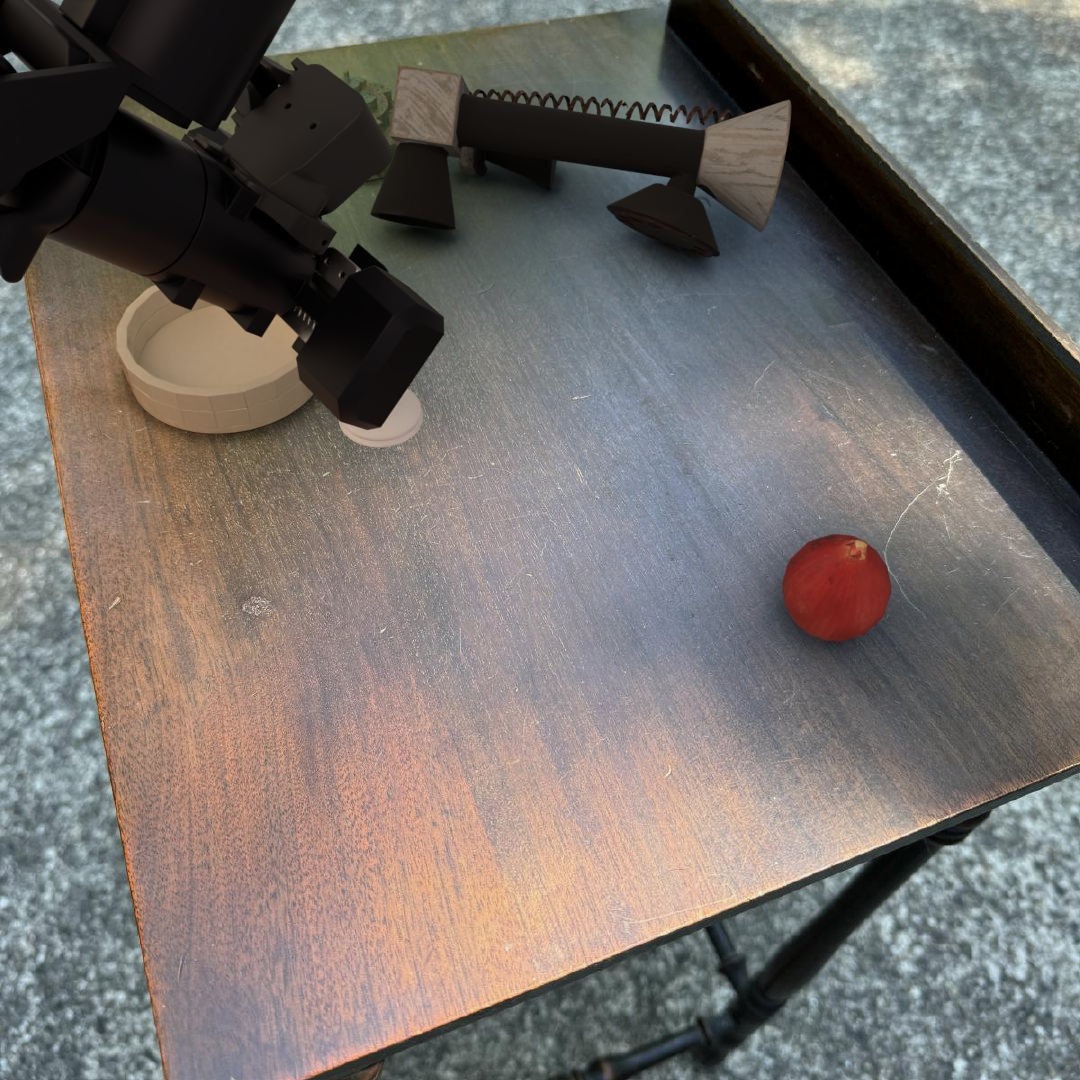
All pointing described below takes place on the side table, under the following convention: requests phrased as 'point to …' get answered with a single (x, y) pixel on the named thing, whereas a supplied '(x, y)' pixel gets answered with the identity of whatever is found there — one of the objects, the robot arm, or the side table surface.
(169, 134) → the robot arm
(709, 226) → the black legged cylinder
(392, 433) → the chess piece
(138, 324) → the pan
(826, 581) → the onion
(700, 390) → the side table surface
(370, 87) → the decorative artifact
